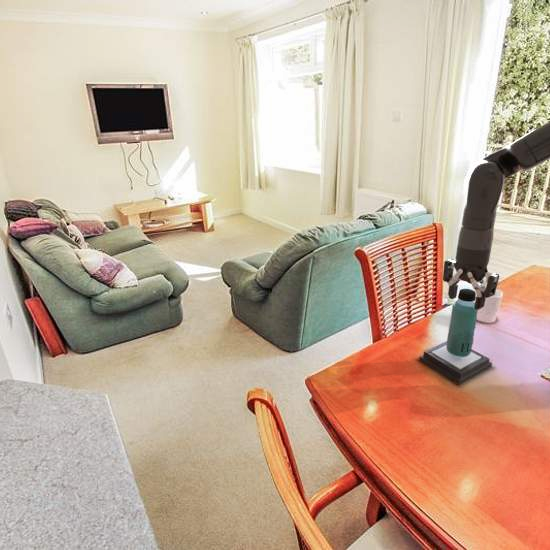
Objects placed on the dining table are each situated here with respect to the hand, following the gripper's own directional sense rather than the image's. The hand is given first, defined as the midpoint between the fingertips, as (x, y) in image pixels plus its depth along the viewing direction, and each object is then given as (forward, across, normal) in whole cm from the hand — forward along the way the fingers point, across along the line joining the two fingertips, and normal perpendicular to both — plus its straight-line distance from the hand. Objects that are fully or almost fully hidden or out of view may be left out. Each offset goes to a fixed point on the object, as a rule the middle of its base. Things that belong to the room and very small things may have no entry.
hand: (464, 303), depth 99 cm
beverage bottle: (+17, 0, 0) cm, 17 cm away
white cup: (+20, +11, -30) cm, 38 cm away
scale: (+19, 0, 0) cm, 19 cm away
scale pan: (+18, 0, 0) cm, 18 cm away
